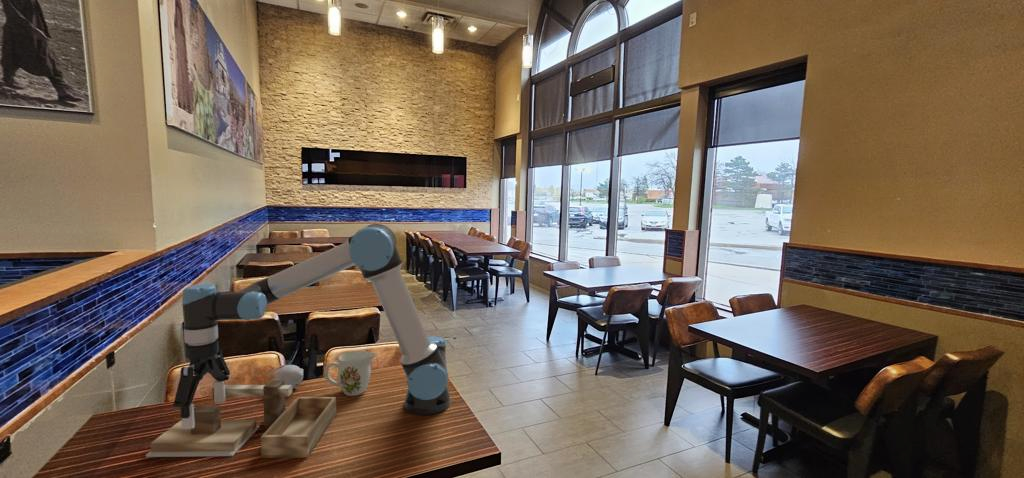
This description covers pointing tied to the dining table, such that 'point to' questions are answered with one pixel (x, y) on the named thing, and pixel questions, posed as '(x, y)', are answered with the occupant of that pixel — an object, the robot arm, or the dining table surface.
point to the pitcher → (352, 372)
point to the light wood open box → (293, 423)
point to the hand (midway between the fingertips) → (205, 414)
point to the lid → (205, 433)
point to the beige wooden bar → (253, 390)
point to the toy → (289, 375)
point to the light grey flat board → (201, 453)
